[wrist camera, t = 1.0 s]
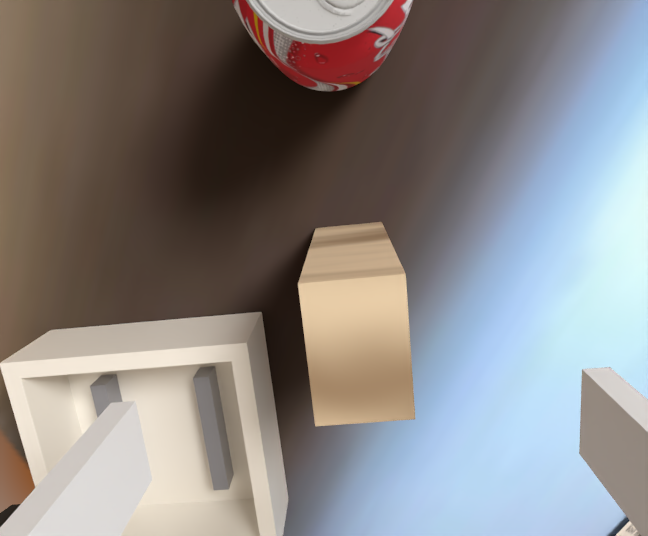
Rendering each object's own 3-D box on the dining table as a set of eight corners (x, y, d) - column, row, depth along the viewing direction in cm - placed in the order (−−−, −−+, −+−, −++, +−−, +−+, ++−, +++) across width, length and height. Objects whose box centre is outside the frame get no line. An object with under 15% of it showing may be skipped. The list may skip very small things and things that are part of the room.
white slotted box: (51, 330, 32) (-1, 363, 28) (261, 311, 32) (246, 342, 27) (97, 510, 36) (58, 568, 31) (288, 498, 35) (279, 556, 30)
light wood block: (315, 228, 30) (297, 283, 18) (381, 222, 30) (405, 274, 18) (325, 321, 32) (315, 426, 20) (388, 315, 31) (415, 419, 20)
